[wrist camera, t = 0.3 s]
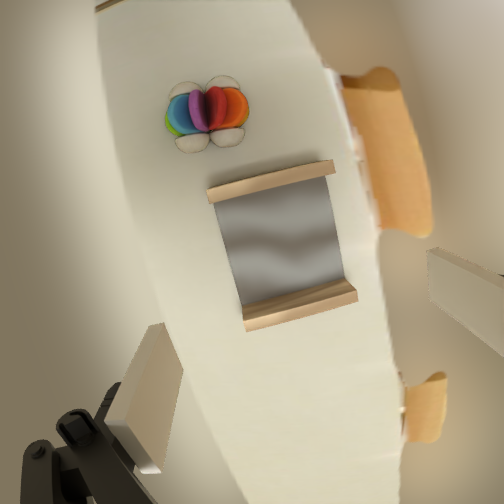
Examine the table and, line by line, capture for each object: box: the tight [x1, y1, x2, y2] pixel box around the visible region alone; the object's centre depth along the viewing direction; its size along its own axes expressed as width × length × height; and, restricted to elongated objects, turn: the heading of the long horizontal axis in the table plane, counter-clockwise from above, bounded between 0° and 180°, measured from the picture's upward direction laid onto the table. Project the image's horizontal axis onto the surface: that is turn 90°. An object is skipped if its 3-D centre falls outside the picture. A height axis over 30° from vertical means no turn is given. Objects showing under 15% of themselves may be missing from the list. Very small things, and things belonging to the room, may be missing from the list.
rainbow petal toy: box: [165, 76, 249, 153], centre depth 33 cm, size 8×10×7 cm
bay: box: [206, 160, 358, 332], centre depth 38 cm, size 17×14×5 cm
